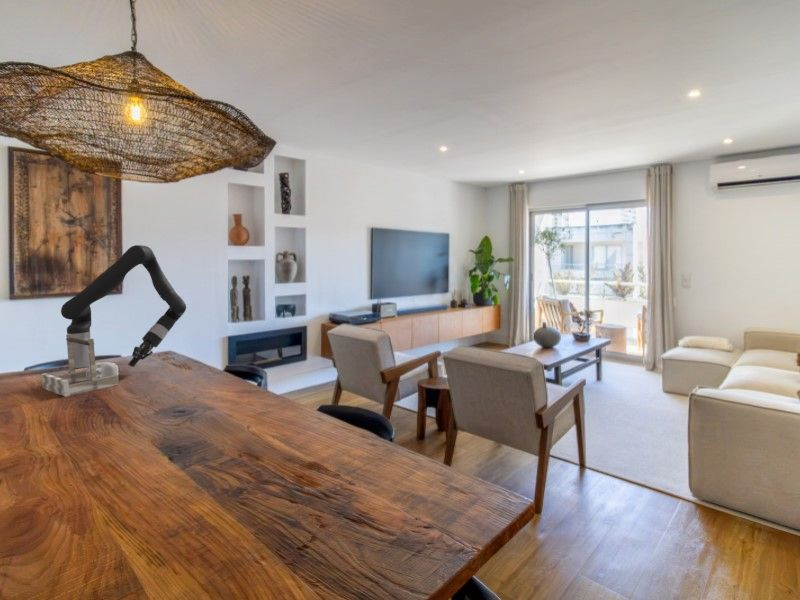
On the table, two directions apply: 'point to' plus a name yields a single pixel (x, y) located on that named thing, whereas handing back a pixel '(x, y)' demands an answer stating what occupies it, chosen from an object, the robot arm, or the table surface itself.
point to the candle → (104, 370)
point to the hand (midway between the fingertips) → (130, 365)
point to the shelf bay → (77, 374)
